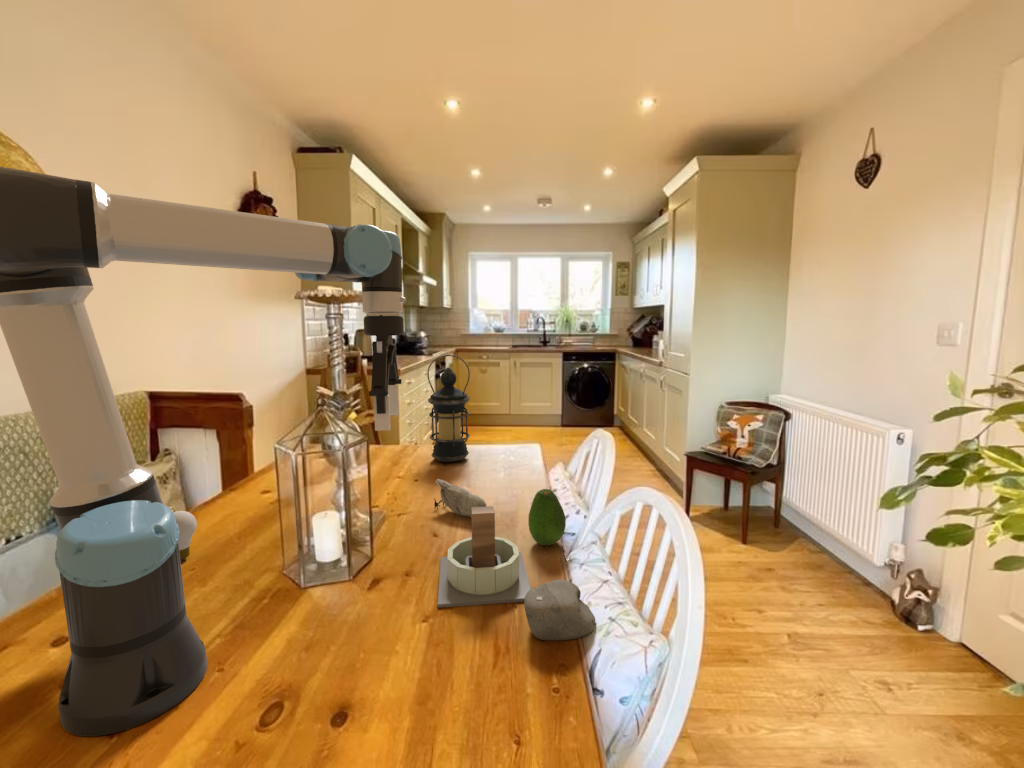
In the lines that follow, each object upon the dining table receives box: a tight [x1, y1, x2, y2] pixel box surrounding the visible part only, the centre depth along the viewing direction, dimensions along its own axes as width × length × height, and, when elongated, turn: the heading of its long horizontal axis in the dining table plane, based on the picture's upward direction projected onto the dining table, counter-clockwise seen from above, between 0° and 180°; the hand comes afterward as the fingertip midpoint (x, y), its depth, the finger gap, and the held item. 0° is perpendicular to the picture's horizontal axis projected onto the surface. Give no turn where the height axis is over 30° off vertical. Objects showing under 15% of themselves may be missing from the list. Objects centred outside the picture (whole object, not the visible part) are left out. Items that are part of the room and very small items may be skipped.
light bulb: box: [172, 510, 198, 562], centre depth 95 cm, size 6×6×10 cm
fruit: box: [528, 488, 567, 546], centre depth 101 cm, size 8×8×12 cm
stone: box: [523, 579, 598, 642], centre depth 75 cm, size 9×9×10 cm
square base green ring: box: [437, 536, 532, 608], centre depth 88 cm, size 16×16×5 cm
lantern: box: [426, 354, 471, 463], centre depth 159 cm, size 14×13×35 cm
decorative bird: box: [433, 478, 488, 517], centre depth 117 cm, size 5×16×7 cm, turn 51°
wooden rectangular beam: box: [470, 505, 496, 568], centre depth 88 cm, size 3×4×12 cm
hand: (388, 422), depth 97 cm, fingers open, 13 cm apart
